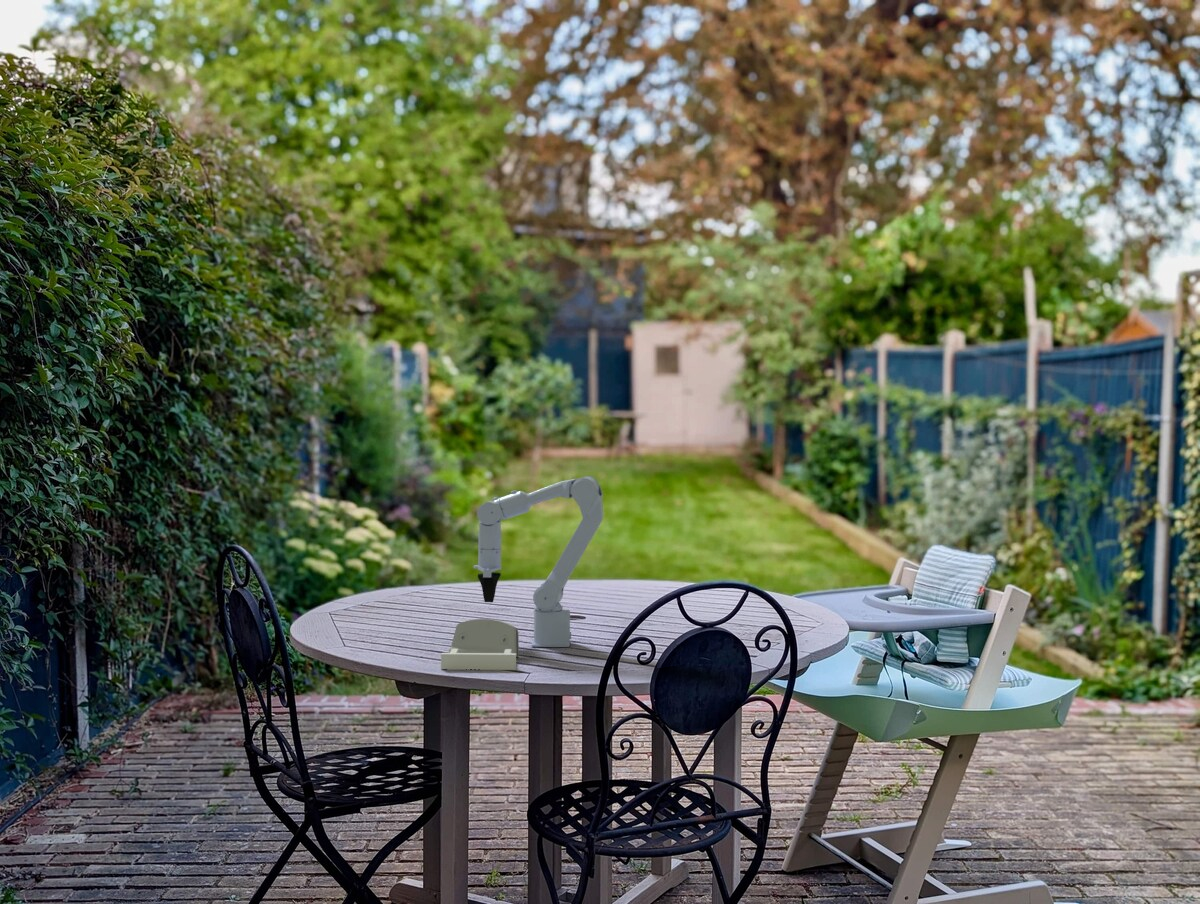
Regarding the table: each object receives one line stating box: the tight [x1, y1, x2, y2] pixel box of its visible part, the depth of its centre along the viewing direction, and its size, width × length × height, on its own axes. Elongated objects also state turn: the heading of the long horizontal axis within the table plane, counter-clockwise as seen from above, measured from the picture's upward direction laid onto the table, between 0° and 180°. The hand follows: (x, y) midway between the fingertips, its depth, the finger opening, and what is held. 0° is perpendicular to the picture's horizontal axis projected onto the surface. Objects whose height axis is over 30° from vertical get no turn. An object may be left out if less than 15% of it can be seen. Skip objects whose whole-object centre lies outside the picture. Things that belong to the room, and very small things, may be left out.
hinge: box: [448, 618, 520, 659], centre depth 271 cm, size 17×5×10 cm, turn 76°
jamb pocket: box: [440, 649, 517, 671], centre depth 261 cm, size 17×8×4 cm, turn 91°
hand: (488, 601), depth 287 cm, fingers closed
